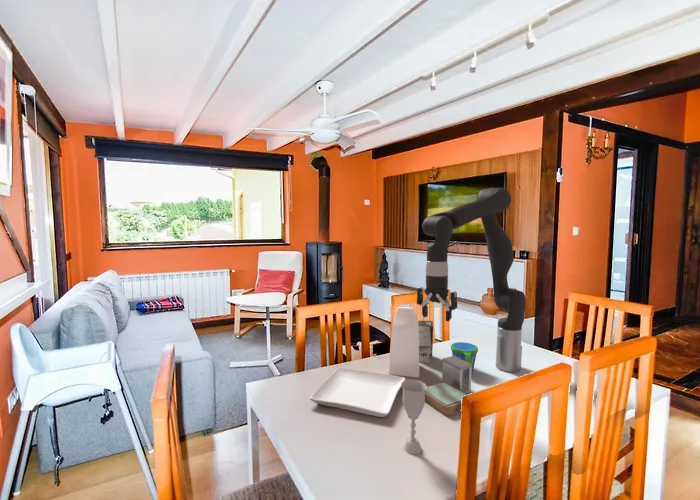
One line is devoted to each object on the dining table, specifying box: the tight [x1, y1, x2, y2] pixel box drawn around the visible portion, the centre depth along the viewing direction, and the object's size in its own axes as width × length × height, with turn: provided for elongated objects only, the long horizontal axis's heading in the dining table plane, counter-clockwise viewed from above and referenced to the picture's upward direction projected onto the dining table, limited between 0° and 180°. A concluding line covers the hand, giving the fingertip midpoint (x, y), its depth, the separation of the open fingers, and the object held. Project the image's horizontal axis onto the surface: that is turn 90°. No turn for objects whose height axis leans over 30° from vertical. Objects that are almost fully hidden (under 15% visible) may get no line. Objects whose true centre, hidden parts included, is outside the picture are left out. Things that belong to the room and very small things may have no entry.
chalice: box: [401, 379, 428, 455], centre depth 103 cm, size 7×7×18 cm
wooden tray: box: [425, 381, 468, 418], centre depth 129 cm, size 12×14×3 cm
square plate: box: [309, 366, 406, 418], centre depth 134 cm, size 27×27×4 cm
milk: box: [388, 306, 420, 378], centre depth 154 cm, size 12×12×26 cm
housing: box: [441, 356, 472, 394], centre depth 139 cm, size 6×9×10 cm, turn 29°
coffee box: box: [418, 320, 434, 364], centre depth 166 cm, size 9×6×16 cm
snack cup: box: [450, 341, 479, 373], centre depth 155 cm, size 16×10×10 cm
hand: (436, 318), depth 134 cm, fingers open, 8 cm apart
